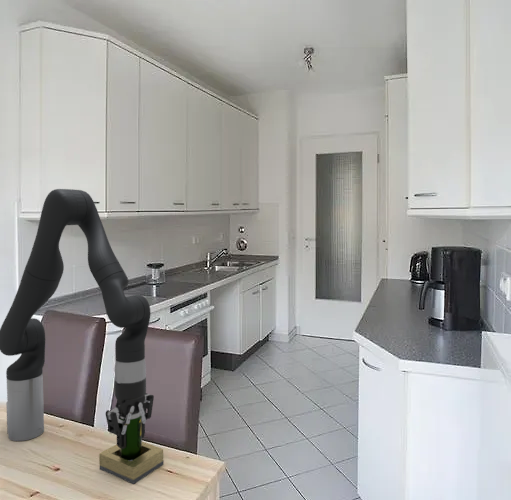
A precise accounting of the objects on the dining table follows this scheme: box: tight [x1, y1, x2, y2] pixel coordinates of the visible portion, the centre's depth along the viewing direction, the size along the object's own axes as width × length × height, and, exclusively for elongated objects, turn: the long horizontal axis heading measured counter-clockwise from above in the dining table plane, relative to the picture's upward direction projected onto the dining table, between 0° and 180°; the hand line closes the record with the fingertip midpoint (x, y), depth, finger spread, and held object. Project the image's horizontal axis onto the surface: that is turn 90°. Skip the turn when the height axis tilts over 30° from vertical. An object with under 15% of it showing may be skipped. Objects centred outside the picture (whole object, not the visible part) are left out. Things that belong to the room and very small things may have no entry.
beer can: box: [120, 411, 143, 461], centre depth 111 cm, size 5×5×12 cm
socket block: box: [98, 441, 164, 485], centre depth 111 cm, size 12×10×4 cm
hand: (131, 442), depth 111 cm, fingers closed on beer can, 5 cm apart
